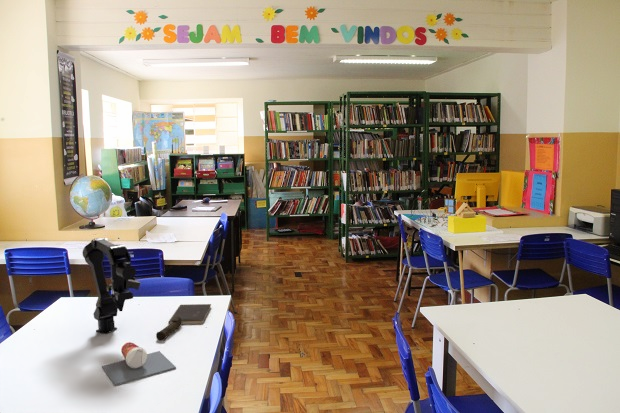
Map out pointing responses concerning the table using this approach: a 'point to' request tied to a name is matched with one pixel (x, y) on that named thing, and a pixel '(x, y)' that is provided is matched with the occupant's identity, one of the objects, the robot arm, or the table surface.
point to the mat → (138, 369)
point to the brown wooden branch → (169, 328)
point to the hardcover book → (191, 313)
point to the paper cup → (134, 355)
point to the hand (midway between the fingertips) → (120, 310)
